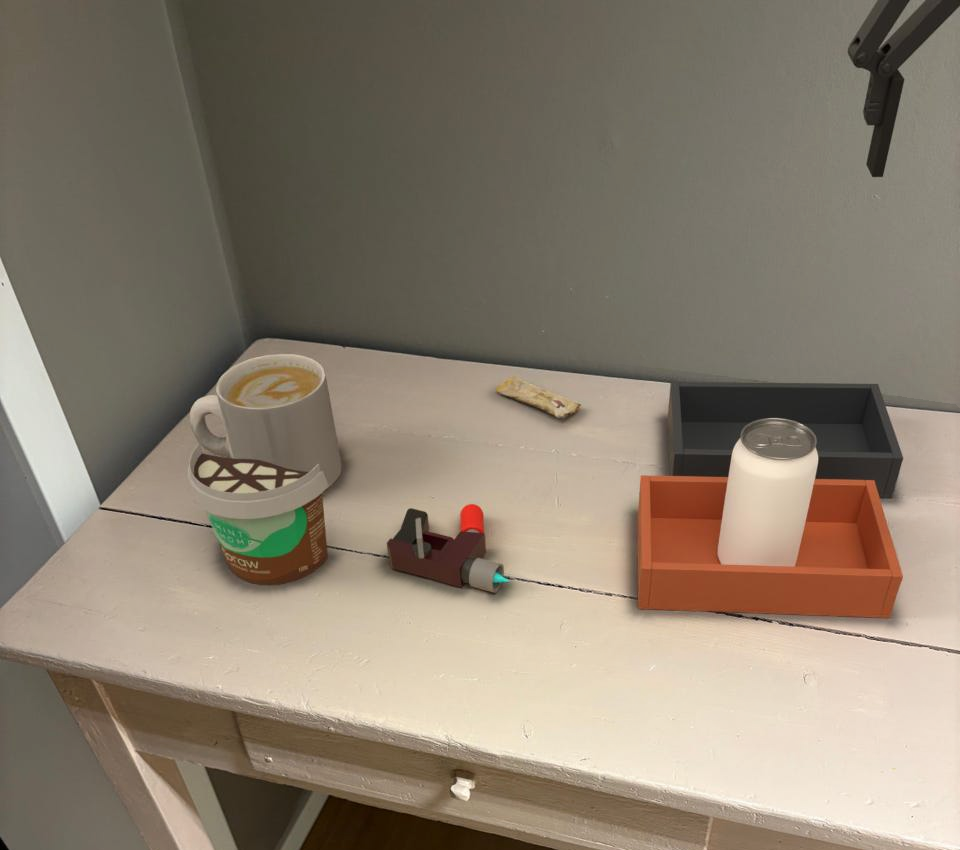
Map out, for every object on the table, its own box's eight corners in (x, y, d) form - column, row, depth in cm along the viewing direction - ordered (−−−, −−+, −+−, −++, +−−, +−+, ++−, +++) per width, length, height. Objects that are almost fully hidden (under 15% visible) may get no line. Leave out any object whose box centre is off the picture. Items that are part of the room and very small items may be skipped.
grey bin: (868, 422, 98) (878, 383, 95) (891, 498, 89) (903, 457, 86) (667, 419, 100) (670, 381, 97) (670, 493, 91) (674, 453, 88)
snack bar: (493, 389, 105) (511, 370, 106) (497, 399, 106) (515, 380, 107) (563, 418, 100) (581, 398, 100) (566, 428, 101) (584, 408, 102)
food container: (184, 578, 86) (151, 483, 79) (221, 536, 90) (193, 442, 83) (311, 606, 82) (288, 509, 76) (343, 561, 87) (324, 464, 80)
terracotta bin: (863, 520, 87) (874, 479, 84) (890, 618, 78) (903, 576, 75) (637, 514, 89) (640, 474, 86) (638, 608, 80) (641, 568, 77)
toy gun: (502, 605, 81) (500, 559, 78) (375, 571, 85) (367, 526, 82) (546, 537, 88) (546, 491, 84) (425, 508, 92) (420, 463, 88)
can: (715, 534, 86) (732, 413, 78) (792, 537, 85) (818, 415, 77) (717, 583, 82) (736, 460, 73) (799, 587, 81) (827, 463, 72)
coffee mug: (356, 449, 99) (341, 358, 92) (318, 508, 92) (299, 414, 85) (235, 436, 102) (212, 346, 95) (190, 491, 95) (161, 399, 88)
